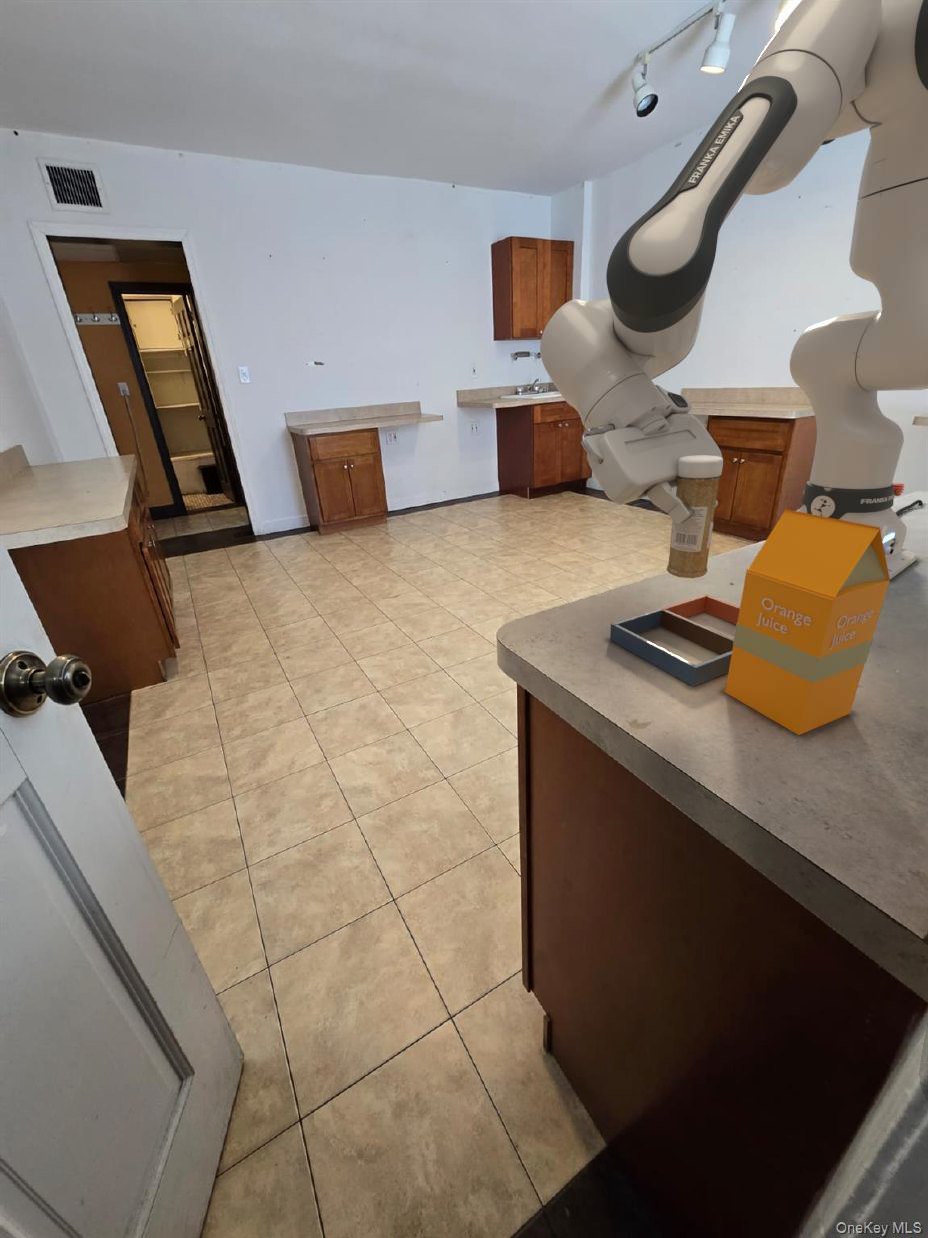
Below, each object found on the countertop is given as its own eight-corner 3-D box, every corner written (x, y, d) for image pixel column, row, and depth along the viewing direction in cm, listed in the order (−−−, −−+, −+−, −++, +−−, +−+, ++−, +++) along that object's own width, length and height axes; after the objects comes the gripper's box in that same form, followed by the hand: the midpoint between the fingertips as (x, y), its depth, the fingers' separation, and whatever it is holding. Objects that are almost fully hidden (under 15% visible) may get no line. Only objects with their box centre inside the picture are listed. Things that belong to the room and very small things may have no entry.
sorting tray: (703, 609, 77) (705, 594, 76) (794, 646, 65) (798, 628, 64) (609, 640, 70) (610, 623, 69) (693, 687, 58) (695, 668, 57)
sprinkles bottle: (714, 573, 61) (732, 455, 55) (691, 582, 59) (707, 461, 53) (681, 564, 64) (694, 452, 59) (657, 572, 62) (669, 457, 57)
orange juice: (798, 736, 50) (850, 535, 41) (723, 692, 57) (754, 514, 49) (851, 713, 52) (910, 520, 44) (773, 674, 60) (810, 502, 51)
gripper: (592, 408, 53) (671, 515, 50) (692, 395, 64) (760, 482, 61) (558, 451, 58) (628, 551, 55) (656, 432, 69) (718, 513, 66)
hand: (699, 514), depth 58 cm, fingers closed on sprinkles bottle, 4 cm apart
